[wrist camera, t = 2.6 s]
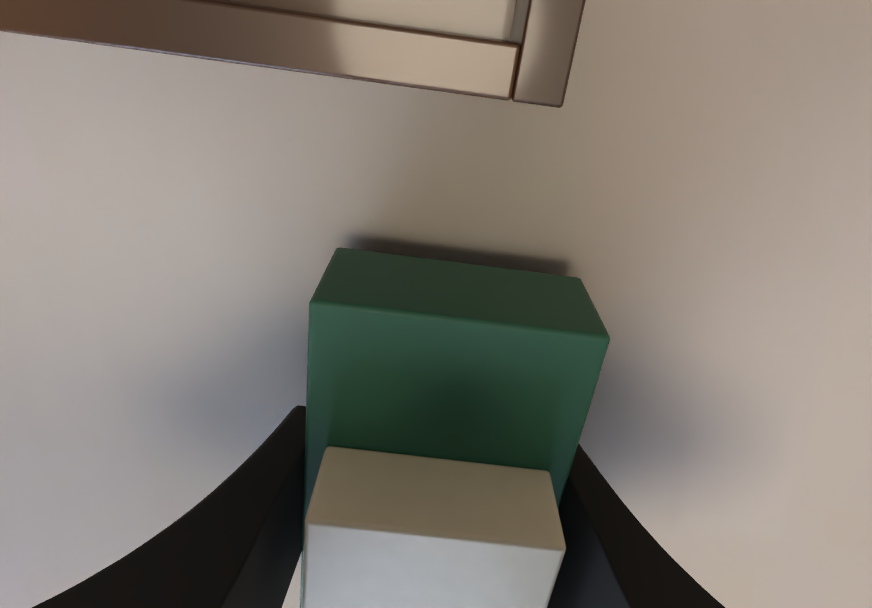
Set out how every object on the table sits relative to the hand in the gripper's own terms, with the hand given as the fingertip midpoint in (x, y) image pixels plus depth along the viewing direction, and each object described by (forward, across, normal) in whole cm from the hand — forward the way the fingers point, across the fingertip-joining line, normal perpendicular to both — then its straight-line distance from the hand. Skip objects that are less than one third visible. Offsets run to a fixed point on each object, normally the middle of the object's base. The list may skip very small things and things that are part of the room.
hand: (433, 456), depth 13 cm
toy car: (+2, 0, 0) cm, 2 cm away
